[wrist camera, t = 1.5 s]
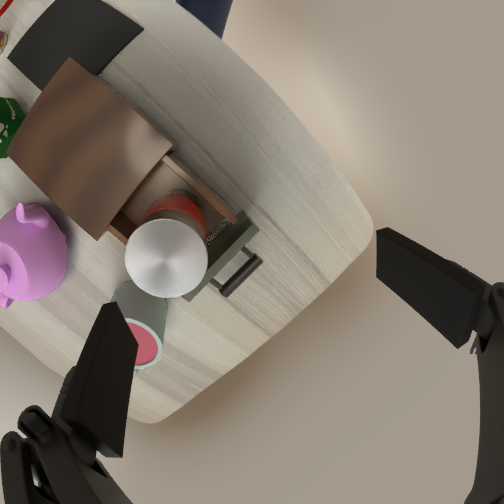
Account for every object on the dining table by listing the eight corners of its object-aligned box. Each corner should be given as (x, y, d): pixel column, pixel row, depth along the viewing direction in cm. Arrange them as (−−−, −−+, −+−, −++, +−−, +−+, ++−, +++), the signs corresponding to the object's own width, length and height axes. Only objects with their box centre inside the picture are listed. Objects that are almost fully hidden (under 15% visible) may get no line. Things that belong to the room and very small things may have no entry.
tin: (174, 177, 33) (159, 199, 20) (214, 212, 36) (226, 256, 22) (140, 218, 34) (108, 264, 21) (180, 250, 37) (173, 312, 23)
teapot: (36, 161, 29) (-14, 173, 18) (101, 212, 35) (65, 241, 23) (1, 260, 33) (-37, 294, 21) (56, 305, 38) (27, 350, 27)
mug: (112, 276, 38) (94, 311, 29) (169, 285, 41) (164, 323, 32) (114, 342, 43) (103, 382, 34) (163, 350, 45) (160, 392, 36)
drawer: (270, 235, 40) (284, 253, 34) (211, 294, 42) (215, 320, 35) (160, 134, 32) (151, 132, 25) (102, 206, 33) (84, 219, 27)
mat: (73, -15, 18) (72, -16, 17) (144, 29, 26) (143, 28, 25) (8, 58, 20) (6, 57, 20) (67, 113, 28) (65, 113, 27)
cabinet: (179, 145, 34) (173, 144, 26) (116, 220, 36) (97, 241, 28) (94, 72, 27) (69, 56, 19) (38, 148, 29) (5, 152, 21)
